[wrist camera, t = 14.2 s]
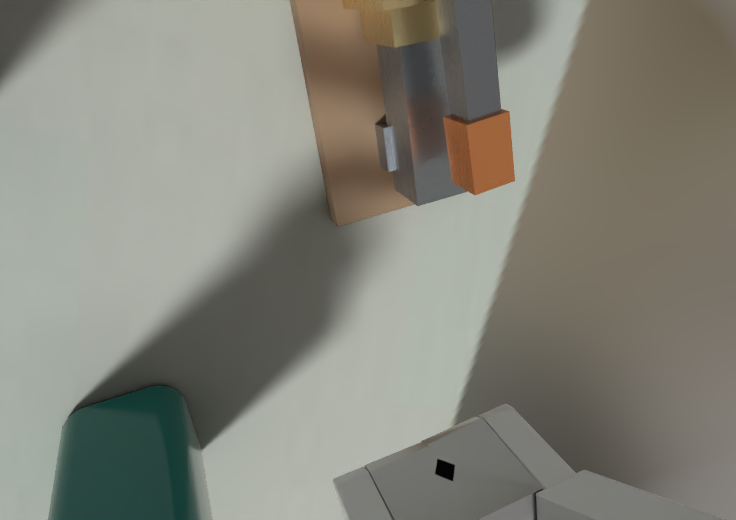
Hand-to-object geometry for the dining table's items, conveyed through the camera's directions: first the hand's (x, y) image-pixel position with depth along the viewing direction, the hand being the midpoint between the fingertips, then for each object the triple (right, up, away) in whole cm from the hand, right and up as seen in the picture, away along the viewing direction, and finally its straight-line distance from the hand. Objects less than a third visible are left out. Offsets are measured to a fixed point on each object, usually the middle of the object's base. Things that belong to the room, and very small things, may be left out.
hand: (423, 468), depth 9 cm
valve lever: (+4, +15, +22) cm, 27 cm away
